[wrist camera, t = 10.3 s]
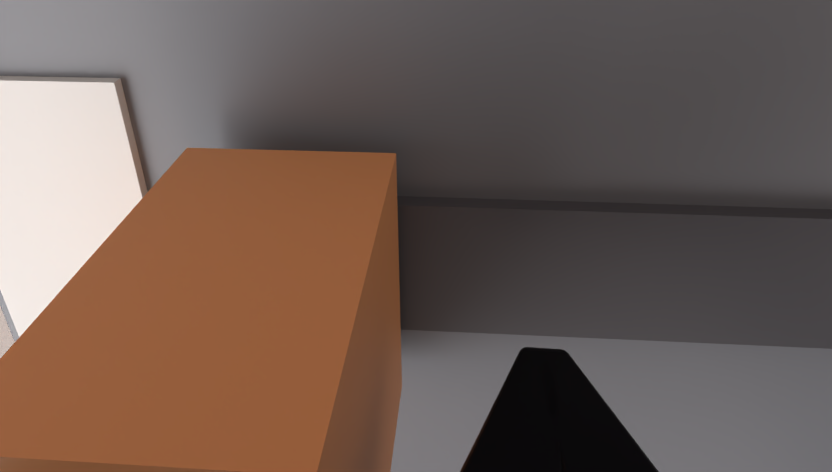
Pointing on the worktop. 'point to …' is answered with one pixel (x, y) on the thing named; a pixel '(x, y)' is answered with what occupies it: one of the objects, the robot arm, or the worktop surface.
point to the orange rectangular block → (223, 327)
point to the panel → (487, 188)
